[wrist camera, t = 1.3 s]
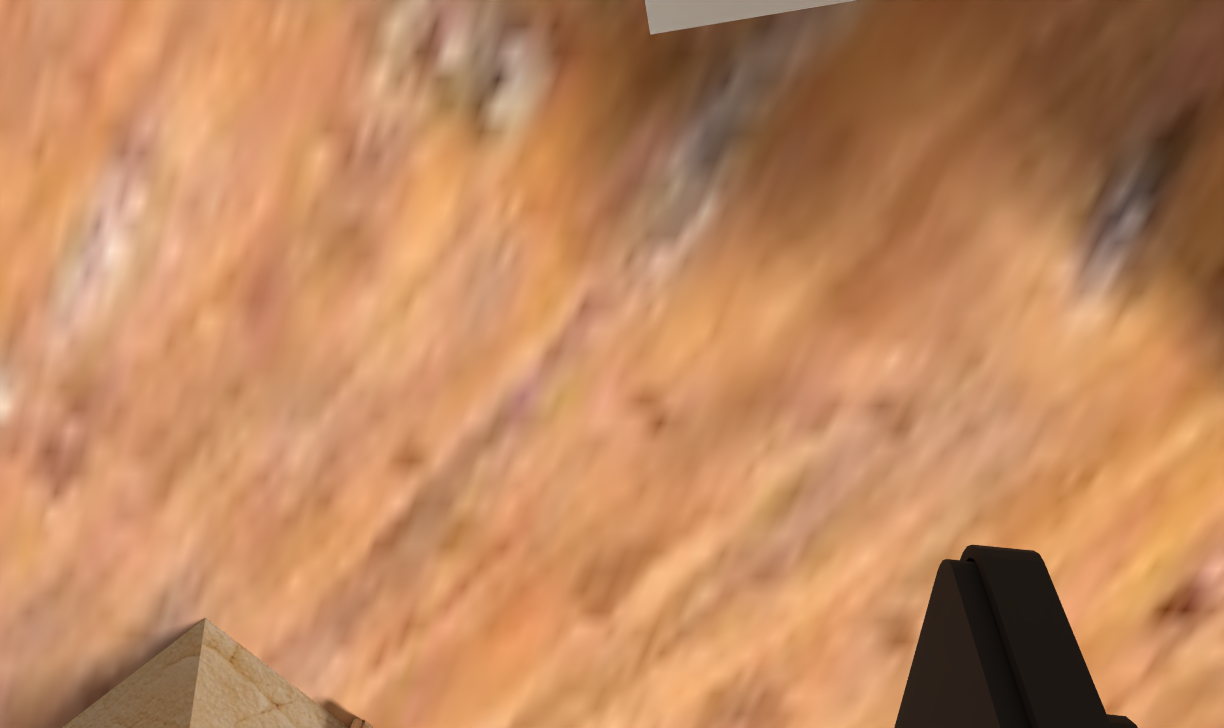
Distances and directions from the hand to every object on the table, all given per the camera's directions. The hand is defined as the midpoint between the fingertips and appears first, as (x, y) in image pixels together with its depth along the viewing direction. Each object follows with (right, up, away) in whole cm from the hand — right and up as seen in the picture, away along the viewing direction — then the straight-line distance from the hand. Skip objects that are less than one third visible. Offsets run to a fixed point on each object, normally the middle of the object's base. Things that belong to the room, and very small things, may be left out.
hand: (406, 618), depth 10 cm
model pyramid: (-13, -16, +37) cm, 43 cm away
